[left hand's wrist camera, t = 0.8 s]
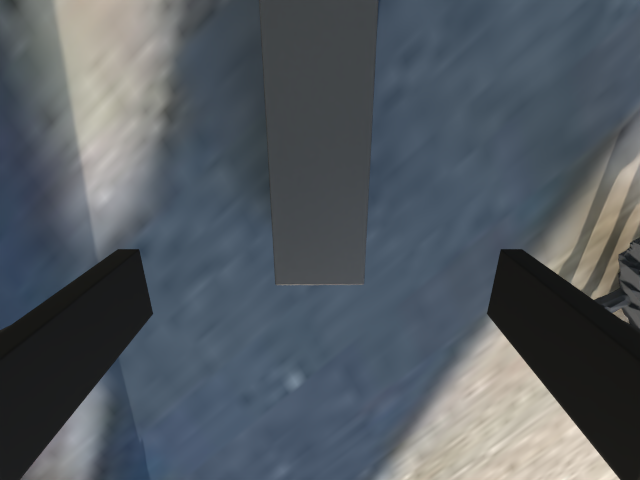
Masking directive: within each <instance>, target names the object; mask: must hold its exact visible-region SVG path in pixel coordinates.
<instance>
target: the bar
mask: <svg viewBox="0 0 640 480" xmlns="http://www.w3.org/2000/svg"><path fill="white" fill-rule="evenodd" d="M259 5H260V23H261V40H262V58H263V75H264V93H265V110H266V128H267V145H268V163H269V180H270V198H271V215H272V233H273V250H274V268H275V284H276V285H363V284H364V274H365V254H366V235H367V215H368V195H369V176H370V156H371V136H372V117H373V97H374V77H375V57H376V38H377V18H378V0H259Z"/></svg>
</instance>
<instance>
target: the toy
mask: <svg viewBox="0 0 640 480" xmlns="http://www.w3.org/2000/svg"><path fill="white" fill-rule="evenodd" d="M630 245H631V247H630V248H629V249H627V250H626V251H624V252H623V253H621V254H619V259H618V261H619V265H620V273H618V275H619V283H620V288H619V289H618V290H616V291H614V292H612V293H610V294H608V295H605V296H602V297H600V298H597V299H595V300H594V301H596V302H597V303H598V304H600V305H601V306H603V307H604V308H605V309H607V310H608V311H610V312H611V313H613V312H615V311H617V310H619V309H620V308H622V310H623V312H624V314H625V316H627V317H628V319H629V323H630V324H631V325H633V326H635V327H637V328H639V329H640V238H638V239H636V240H635V241H633V242H631V243H630Z"/></svg>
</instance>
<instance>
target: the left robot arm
mask: <svg viewBox="0 0 640 480" xmlns="http://www.w3.org/2000/svg"><path fill="white" fill-rule="evenodd" d="M152 314H153V312H152V307H151V302H150V298H149V293H148V288H147V284H146V279H145V274H144V270H143V265H142V260H141V256H140V251H139V249H118V250H116V251H115V252H114V253H112V254H111V255H109V256H108V257H106V258H105V259H104V260H102V261H101V262H99V263H98V264H97V265H95V266H94V267H92V268H91V269H90V270H88V271H87V272H85V273H84V274H82V275H81V276H80V277H78V278H77V279H75V280H74V281H73V282H71V283H70V284H68V285H67V286H66V287H64V288H63V289H61V290H60V291H59V292H57V293H56V294H54V295H53V296H51V297H50V298H49V299H47V300H46V301H44V302H43V303H42V304H40V305H39V306H37V307H36V308H35V309H33V310H32V311H30V312H29V313H27V314H26V315H25V316H23V317H22V318H20V319H19V320H18V321H16V322H15V323H13V324H12V325H10V326H8V327H6V328H4V329H2V330H0V480H20V479H21V477H22V476H23V475H24V474H25V472H26V471H27V470H28V469H29V467H30V466H31V465H32V464H33V462H34V461H35V460H36V459H37V457H38V456H39V455H40V454H41V453H42V451H43V450H44V449H45V448H46V446H47V445H48V444H49V443H50V441H51V440H52V439H53V438H54V436H55V435H56V434H57V433H58V431H59V430H60V429H61V428H62V426H63V425H64V424H65V423H66V421H67V420H68V419H69V418H70V416H71V415H72V414H73V413H74V411H75V410H76V409H77V408H78V406H79V405H80V404H81V403H82V402H83V400H84V399H85V398H86V397H87V395H88V394H89V393H90V392H91V390H92V389H93V388H94V387H95V385H96V384H97V383H98V382H99V380H100V379H101V378H102V377H103V375H104V374H105V373H106V372H107V370H108V369H109V368H110V367H111V365H112V364H113V363H114V362H115V360H116V359H117V358H118V357H119V355H120V354H121V353H122V352H123V351H124V349H125V348H126V347H127V346H128V344H129V343H130V342H131V341H132V339H133V338H134V337H135V336H136V334H137V333H138V332H139V331H140V329H141V328H142V327H143V326H144V324H145V323H146V322H147V321H148V319H149V318H150V317H151V316H152ZM487 314H488V316H489V317H490V318H491V319H492V321H493V322H494V323H495V324H496V326H497V327H498V328H499V329H500V331H501V332H502V333H503V334H504V336H505V337H506V338H507V339H508V341H509V342H510V343H511V344H512V346H513V347H514V348H515V349H516V351H517V352H518V353H519V354H520V355H521V357H522V358H523V359H524V360H525V362H526V363H527V364H528V365H529V367H530V368H531V369H532V370H533V372H534V373H535V374H536V375H537V377H538V378H539V379H540V380H541V382H542V383H543V384H544V385H545V387H546V388H547V389H548V390H549V392H550V393H551V394H552V395H553V397H554V398H555V399H556V400H557V402H558V403H559V404H560V405H561V406H562V408H563V409H564V410H565V411H566V413H567V414H568V415H569V416H570V418H571V419H572V420H573V421H574V423H575V424H576V425H577V426H578V428H579V429H580V430H581V431H582V433H583V434H584V435H585V436H586V438H587V439H588V440H589V441H590V443H591V444H592V445H593V446H594V448H595V449H596V450H597V451H598V453H599V454H600V455H601V456H602V457H603V459H604V460H605V461H606V462H607V464H608V465H609V466H610V467H611V469H612V470H613V471H614V472H615V474H616V475H617V476H618V477H619V479H620V480H640V329H639V328H637V327H635V326H633V325H631V324H629V323H627V322H625V321H623V320H621V319H620V318H618V317H617V316H615V315H614V314H613V313H611V312H610V311H608V310H607V309H605V308H604V307H603V306H601V305H600V304H598V303H597V302H596V301H594V300H593V299H591V298H590V297H589V296H587V295H586V294H584V293H583V292H581V291H580V290H579V289H577V288H576V287H574V286H573V285H572V284H570V283H569V282H567V281H566V280H565V279H563V278H562V277H560V276H559V275H558V274H556V273H555V272H553V271H552V270H550V269H549V268H548V267H546V266H545V265H543V264H542V263H541V262H539V261H538V260H536V259H535V258H534V257H532V256H531V255H529V254H528V253H526V252H525V251H524V250H522V249H501V251H500V256H499V260H498V265H497V270H496V274H495V279H494V284H493V288H492V293H491V298H490V302H489V307H488V312H487Z"/></svg>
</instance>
